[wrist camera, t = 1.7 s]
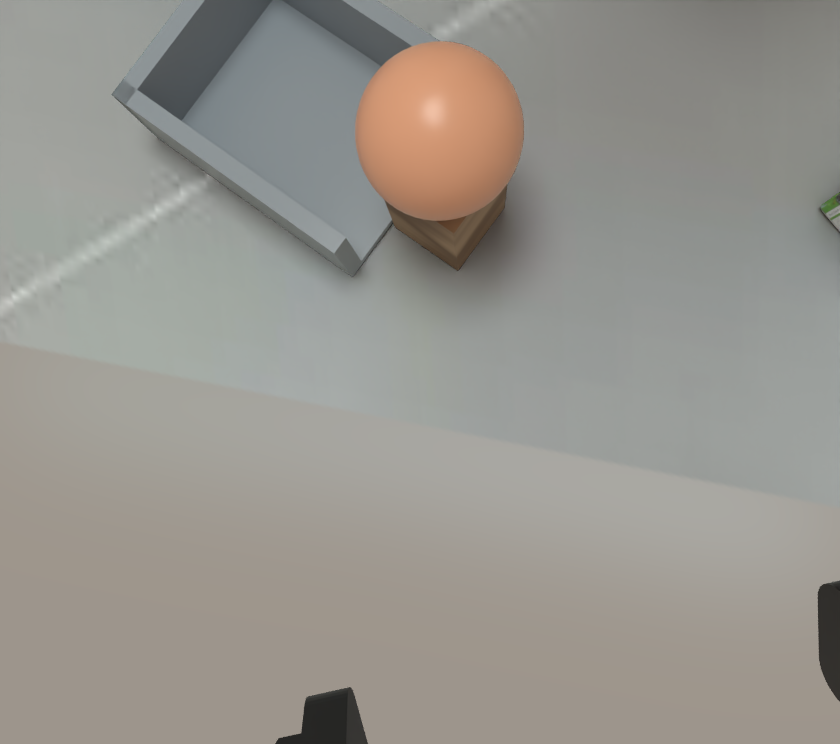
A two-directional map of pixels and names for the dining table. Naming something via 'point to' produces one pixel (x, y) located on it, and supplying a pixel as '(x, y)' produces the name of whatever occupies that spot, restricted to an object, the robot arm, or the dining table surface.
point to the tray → (275, 107)
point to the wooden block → (450, 231)
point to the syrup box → (833, 210)
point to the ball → (439, 131)
